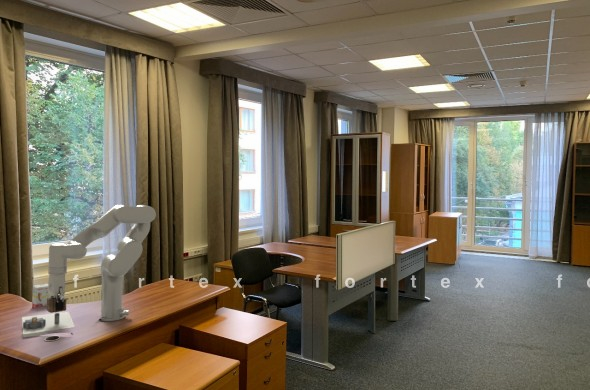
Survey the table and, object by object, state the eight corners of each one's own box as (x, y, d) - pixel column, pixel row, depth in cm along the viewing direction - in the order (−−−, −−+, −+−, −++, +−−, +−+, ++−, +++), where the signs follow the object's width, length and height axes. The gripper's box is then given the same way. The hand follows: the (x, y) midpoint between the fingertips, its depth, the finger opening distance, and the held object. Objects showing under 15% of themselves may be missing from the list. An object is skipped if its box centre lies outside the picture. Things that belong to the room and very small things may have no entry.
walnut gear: (70, 307, 205) (70, 296, 204) (60, 313, 196) (60, 301, 196) (52, 307, 205) (53, 295, 205) (42, 312, 196) (42, 300, 196)
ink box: (35, 310, 224) (35, 287, 223) (31, 308, 227) (32, 285, 226) (53, 306, 230) (53, 284, 230) (49, 304, 233) (49, 283, 233)
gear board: (21, 320, 208) (22, 307, 207) (68, 314, 219) (68, 302, 218) (23, 337, 186) (23, 323, 186) (74, 330, 197) (75, 317, 197)
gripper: (43, 268, 204) (42, 305, 204) (54, 274, 191) (53, 314, 192) (60, 266, 209) (59, 302, 209) (72, 272, 196) (71, 311, 197)
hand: (56, 308), depth 200 cm, fingers closed on walnut gear, 7 cm apart
